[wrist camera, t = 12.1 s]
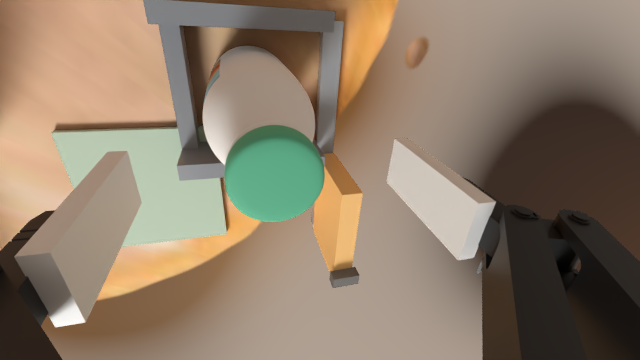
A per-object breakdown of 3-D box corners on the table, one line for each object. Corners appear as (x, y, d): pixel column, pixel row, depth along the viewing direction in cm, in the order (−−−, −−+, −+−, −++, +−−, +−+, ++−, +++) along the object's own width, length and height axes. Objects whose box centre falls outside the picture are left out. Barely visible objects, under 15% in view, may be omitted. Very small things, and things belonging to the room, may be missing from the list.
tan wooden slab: (313, 154, 34) (342, 202, 26) (337, 152, 35) (372, 199, 26) (310, 229, 40) (332, 290, 31) (330, 227, 40) (357, 286, 32)
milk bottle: (236, 25, 27) (250, 54, 10) (303, 77, 31) (390, 158, 14) (195, 95, 29) (149, 213, 12) (262, 136, 33) (296, 268, 16)
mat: (54, 130, 27) (50, 132, 27) (213, 125, 31) (213, 127, 30) (100, 246, 34) (98, 249, 34) (226, 231, 38) (226, 234, 37)
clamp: (160, 0, 25) (142, -2, 20) (341, 12, 29) (364, 13, 24) (201, 232, 37) (197, 267, 32) (325, 218, 41) (338, 247, 36)
